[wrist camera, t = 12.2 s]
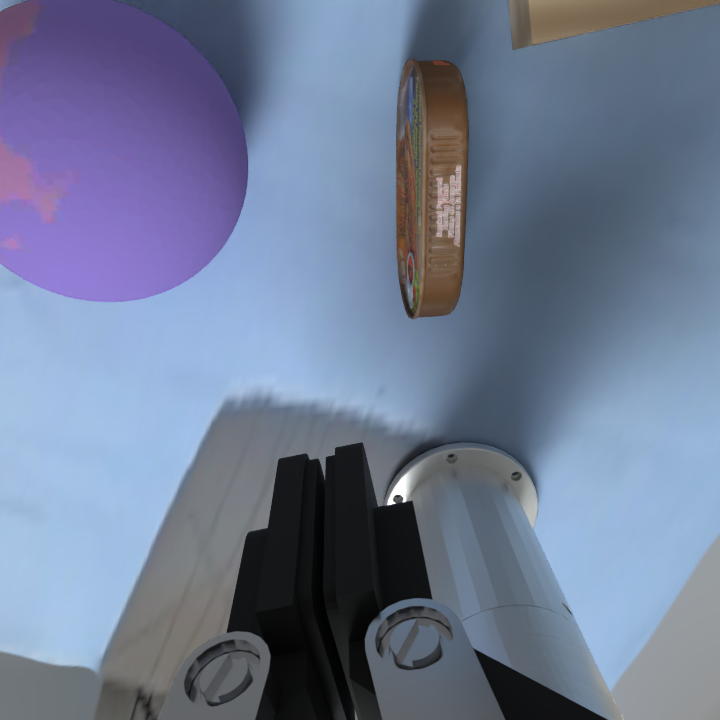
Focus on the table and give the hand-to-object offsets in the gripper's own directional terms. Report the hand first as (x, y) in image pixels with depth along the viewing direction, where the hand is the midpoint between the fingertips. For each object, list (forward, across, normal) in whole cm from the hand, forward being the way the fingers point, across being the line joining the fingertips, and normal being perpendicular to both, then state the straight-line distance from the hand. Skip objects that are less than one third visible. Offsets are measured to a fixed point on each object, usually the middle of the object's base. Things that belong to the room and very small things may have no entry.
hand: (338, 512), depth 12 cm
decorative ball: (+32, +11, -7) cm, 35 cm away
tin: (+32, -6, -1) cm, 33 cm away
